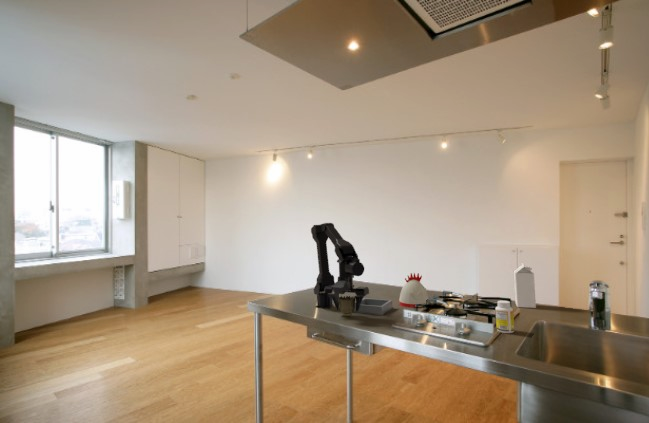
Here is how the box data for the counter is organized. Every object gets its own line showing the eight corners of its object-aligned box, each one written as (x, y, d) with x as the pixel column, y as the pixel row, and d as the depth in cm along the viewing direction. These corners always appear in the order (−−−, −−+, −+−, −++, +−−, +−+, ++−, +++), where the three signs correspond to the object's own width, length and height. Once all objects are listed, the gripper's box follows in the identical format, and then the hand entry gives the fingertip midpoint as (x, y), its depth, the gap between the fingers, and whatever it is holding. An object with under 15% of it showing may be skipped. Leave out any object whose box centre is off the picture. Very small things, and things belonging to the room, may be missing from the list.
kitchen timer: (432, 307, 160) (431, 274, 161) (402, 308, 160) (401, 275, 161) (424, 300, 174) (423, 270, 175) (397, 301, 174) (395, 271, 175)
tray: (352, 312, 156) (351, 304, 156) (364, 305, 168) (364, 298, 168) (382, 315, 149) (381, 306, 149) (392, 307, 161) (392, 300, 161)
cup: (355, 318, 145) (354, 299, 145) (337, 318, 146) (336, 299, 146) (357, 314, 152) (356, 295, 152) (340, 313, 153) (339, 295, 154)
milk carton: (517, 307, 154) (515, 264, 155) (515, 304, 161) (513, 262, 162) (536, 308, 151) (533, 264, 152) (533, 304, 158) (530, 262, 159)
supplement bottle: (509, 328, 124) (508, 299, 125) (517, 333, 119) (516, 303, 119) (493, 329, 125) (492, 300, 125) (501, 333, 119) (499, 303, 119)
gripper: (317, 275, 147) (318, 312, 147) (358, 277, 138) (359, 317, 138) (330, 272, 157) (331, 307, 156) (368, 273, 148) (370, 310, 147)
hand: (347, 310), depth 149 cm, fingers open, 9 cm apart
